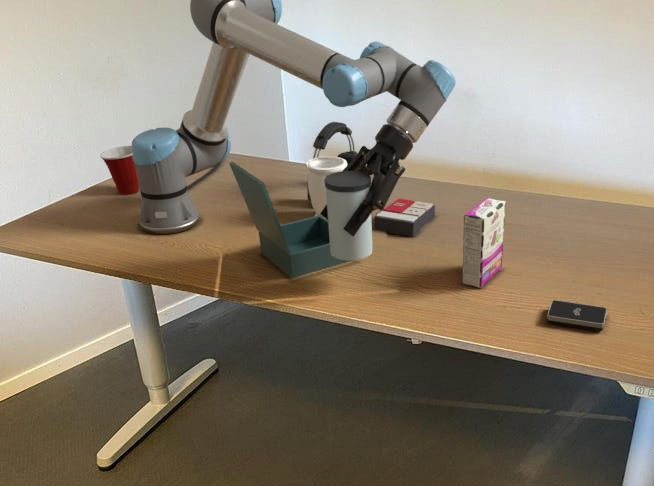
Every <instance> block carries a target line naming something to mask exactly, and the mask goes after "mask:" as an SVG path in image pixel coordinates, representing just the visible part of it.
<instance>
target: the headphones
mask: <svg viewBox="0 0 654 486" xmlns="http://www.w3.org/2000/svg"><path fill="white" fill-rule="evenodd" d="M337 133H340V134H341V135H345V136H346V138H347V140H348V144H349V151H343V152H341V153H340V154H338V155H337V156H336V157H339V158H343V159H345V160H346V161H347V165H348V164H349V163H350V162H351V161H352V160H353V159H354V157H355V156H356V155H357V154H358V152H357V151H356V148H355V141H354V138H353V137H352V134H353V131H352V129H351V128H349V127H348V126H347V124H346V123H344V122H339V121H330V122H329V123H327V124H326V125H324V127H322V129H321V130H320V131H319V133H318V135H317V136H316V137H315V140H314V142H313V145H312V148H314V153H313V157H312V159H314V158H319V156H320V153H321V151H322V150H326V147H327V144H328V142H329V141H330V139H331V138H333V136H335V134H337ZM308 174H309V172H308V173H307V175H308ZM306 192H307V201H308V202H309V203H310V204H312V203H311V198H310V194H309V189H308V188H307V191H306Z"/></svg>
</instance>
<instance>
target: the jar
mask: <svg viewBox="0 0 654 486" xmlns="http://www.w3.org/2000/svg"><path fill="white" fill-rule="evenodd" d="M346 166H347V161H346V160H345V159H343V158H339V157H337V156H320V157H318V158H317V157H315V158H314V159H313V158H311V159H310V160H308V161H307V162H306V168H307V170H308V173H309V174H308V173H307V190H308V189H309V194H310V198H311V203H310V204H311V206H312V208H313V210H314V211H313V212H315V214H314V217H315V216H319V215H321V214H320V213H321V212H322V210H323V209H324V207H325V206H326V204H327V196H326V187H325V182H324V179H325V177H326V176H328V175H330V174H332V173H336V172H341V171H343V170H344V169H345V167H346ZM321 216H322V215H321ZM324 218H325V217H324Z"/></svg>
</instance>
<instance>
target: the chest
mask: <svg viewBox="0 0 654 486" xmlns="http://www.w3.org/2000/svg"><path fill="white" fill-rule="evenodd" d="M280 225H281V227H282V230H283V233H284V235H285V238H286V240H287V243H288V245H289V248H290V251H291V253H290V254H287V253H286V252H285V251H283V250H282V249H281V248H280V247H278V246H277V245H276V244H274V243H273V242H272V241H271V240H269V239H268V238H267V237H266V236H264V235H263V234H262V233H261V232H259V231H258V237H259V245H260V252H261V254H262V255H263V256H265V257H266V258H267V259H269V260H270V261H271V262H272V263H273V264H274V265H276V266H277V267H278V268H279V269H281V271H282V272H284V273H285V274H286V275H288V276H289V278H291V279H295V278H298V277H302V276H306V275H308V274H312V273H316V272H320V271H323V270H325V269H329V268H333V267H336V266H340V265H344V264H346V263H350V262H353V261H354V260H341V259H337V258H335V257H333V256H332V255H331V253H330V240H329V226H328V220H327V219H326V218H324V217H323V216H321V215H319V216H315V215H314V216H311V217H307V218H304V219H299V220H296V221H292V222H291V221H290V222H288V223H283V224H280Z"/></svg>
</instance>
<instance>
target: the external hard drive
mask: <svg viewBox="0 0 654 486" xmlns="http://www.w3.org/2000/svg"><path fill="white" fill-rule="evenodd" d="M607 312H608V308H607V307H605V306H599V305H592V304H584V303H578V302H573V301H572V302H571V301H566V300H565V301H564V300H558V299H553V300H551V303H550V306H549V309H548V311H547V316H546V322H547V323H548V324H552V325H559V326H564V327H570V328H578V329H584V330H591V331H597V332H601V331H603V330H604V326H605V323H606V320H607Z"/></svg>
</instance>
